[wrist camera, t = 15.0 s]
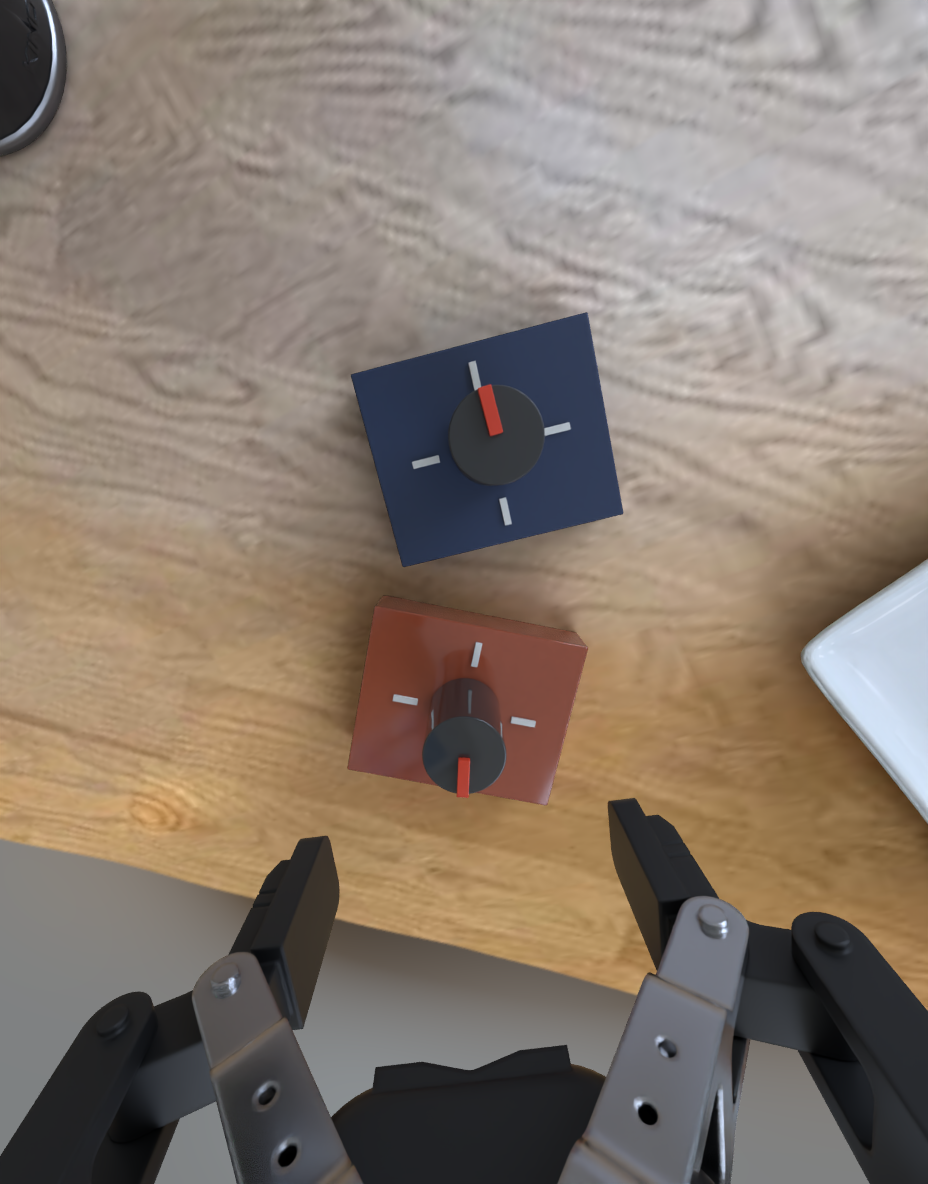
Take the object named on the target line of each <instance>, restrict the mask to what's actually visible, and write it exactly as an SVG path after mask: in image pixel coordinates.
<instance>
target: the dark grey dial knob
mask: <svg viewBox="0 0 928 1184" xmlns="http://www.w3.org/2000/svg"><path fill="white" fill-rule="evenodd" d="M506 758H507V752H506V745H505V739H504V732H503V726H502V719H501V713H500V706H499V702H498V699H497V697H496V695H495V694H494V692H493V691H492V690H491V689H490V688H489V687H488V686H487V685H486V684H484V683H482V682H480V681H478V680H475V679H471V678H458V679H454V680H451V681H449V682H447V683H445V684H443V685H442V686H441V687H440V688H439V689H438V690H437V691H436V692H435V693H434V695H433V697H432V699H431V702H430V706H429V712H428V718H427V724H426V730H425V736H424V742H423V748H422V761H423V765H424V768H425V770H426V772H427V774H428V775H429V777H430V778H431V779H432V780H433V782H435V783H436V784H437V785H438V786H440V787H441V788H443V789H445V790H447V791H450V792H453V793H457V797H465V798H468V797H469V794H470V793H476V792H479V791H482V790H484V789H486V788H488V787H489V786H491V785H492V784H493V783H494V782H495V781H496V780H497V779H498V778H499V777H500V775H501V773H502V772H503V770H504V767H505V764H506Z"/></svg>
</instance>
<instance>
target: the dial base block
mask: <svg viewBox="0 0 928 1184" xmlns="http://www.w3.org/2000/svg"><path fill="white" fill-rule="evenodd" d="M587 650H588V647H587V646H586V644H585V643H584V642H583V641H582V639H581V638H580V637H579V635H578V634H577V633H576V632H570V631H565V630H560V629H555V628H550V627H545V626H540V625H534V624H529V623H524V622H519V621H514V620H509V619H504V618H499V617H493V616H488V615H483V614H478V613H473V612H468V611H463V610H458V609H452V608H447V607H442V606H437V605H432V604H427V603H422V602H417V601H411V600H406V599H401V598H396V597H391V596H386V595H383V597H382V598H381V599H380V600H379V602H378V603H377V604H376V606H375V607H374V613H373V619H372V625H371V631H370V637H369V643H368V649H367V654H366V660H365V666H364V672H363V678H362V684H361V690H360V696H359V702H358V708H357V714H356V720H355V726H354V732H353V738H352V743H351V749H350V755H349V761H348V767H347V768H348V769H349V770H354V771H360V772H365V773H371V774H376V775H382V776H387V777H393V778H398V779H404V780H409V781H415V782H420V783H426V784H431V785H437V784H436V783H435V782H433V780H432V779H431V778H430V777H429V775H428V774H427V772H426V770H425V768H424V765H423V761H422V748H423V742H424V736H425V730H426V724H427V718H428V712H429V706H430V702H431V699H432V697H433V695H434V693H435V692H436V691H437V690H438V689H439V688H440V687H441V686H442V685H443V684H445V683H447V682H449V681H451V680H454V679H458V678H471V679H475V680H478V681H480V682H482V683H484V684H486V685H487V686H488V687H489V688H490V689H491V690H492V691H493V692H494V694H495V695H496V697H497V699H498V702H499V706H500V713H501V719H502V726H503V732H504V739H505V745H506V752H507V758H506V764H505V767H504V770H503V772H502V773H501V775H500V777H499V778H498V779H497V780H496V781H495V782H494V783H493V784H492V785H491V786H489V787H488V788H486V789H484V790H482V791H479V792H476V793H481V794H486V795H492V796H497V797H503V798H508V799H514V800H519V801H525V802H530V803H536V804H541V805H547V804H548V800H549V796H550V793H551V789H552V785H553V781H554V777H555V773H556V769H557V766H558V762H559V758H560V754H561V750H562V746H563V743H564V739H565V735H566V731H567V727H568V723H569V720H570V716H571V712H572V708H573V704H574V700H575V697H576V693H577V689H578V685H579V681H580V677H581V673H582V670H583V666H584V662H585V658H586V654H587ZM437 786H438V785H437Z"/></svg>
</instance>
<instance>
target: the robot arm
mask: <svg viewBox="0 0 928 1184" xmlns="http://www.w3.org/2000/svg"><path fill="white" fill-rule="evenodd" d="M65 80H66V47H65V41H64V35H63V31H62V27H61V24H60V20H59V17H58V14H57V12H56V9H55V7H54V5H53V2H52V0H0V156H2V155H6V154H10V153H13V152H15V151H18V150H20V149H22V148H24V147H25V146H27V145H29V144H30V143H31V142H33V141H34V140H35V139H36V138H37V137H39V136H40V135H41V134H42V132H43V131H44V130H45V129H46V128H47V126H48V125H49V124H50V122H51V121H52V119H53V117H54V115H55V113H56V111H57V109H58V107H59V104H60V102H61V98H62V95H63V91H64V86H65ZM608 816H609V828H610V840H611V850H612V856H613V861H614V865H615V869H616V872H617V874H618V877H619V879H620V882H621V884H622V887H623V889H624V892H625V894H626V896H627V899H628V901H629V904H630V906H631V909H632V911H633V914H634V916H635V919H636V921H637V923H638V926H639V928H640V931H641V933H642V936H643V938H644V941H645V943H646V945H647V948H648V950H649V953H650V955H651V958H652V960H653V963H654V965H655V967H656V970H657V973H656V975H654V974H652V973H650V972H649V973H647V975H646V976H645V978H644V980H643V982H642V985H641V987H640V990H639V993H638V995H637V998H636V1001H635V1003H634V1006H633V1008H632V1011H631V1014H630V1016H629V1019H628V1021H627V1024H626V1027H625V1030H624V1032H623V1035H622V1037H621V1040H620V1042H619V1045H618V1048H617V1050H616V1053H615V1056H614V1058H613V1061H612V1064H611V1066H610V1069H609V1071H608V1074H607V1076H606V1077H605V1076H603V1075H602V1074H599V1073H597V1072H595V1071H593V1070H591V1069H588V1068H585V1067H582V1066H579V1065H574V1064H571V1063H570V1058H569V1053H568V1048H567V1045H562V1046H553V1047H545V1048H537V1049H528V1050H520V1051H517V1052H515V1053H513V1054H510V1055H508V1056H505V1057H503V1058H501V1059H498V1060H496V1061H494V1062H491V1063H489V1064H487V1065H484V1066H482V1067H480V1068H477V1069H474V1070H463V1069H458V1068H452V1067H447V1066H441V1065H437V1064H431V1063H426V1062H416V1063H409V1064H400V1065H391V1066H382V1067H376V1069H375V1075H374V1083H373V1088H371V1089H369V1090H367V1091H365V1092H363V1093H361V1094H360V1095H358V1096H356V1097H355V1098H353V1099H352V1100H351V1101H349V1102H348V1103H346V1104H345V1105H344V1106H343V1107H342V1108H340V1110H338V1111H337V1112H336V1113H335V1114H334V1115H333V1116H332V1117H330V1114H329V1112H328V1110H327V1108H326V1105H325V1103H324V1101H323V1099H322V1096H321V1094H320V1092H319V1089H318V1087H317V1085H316V1083H315V1080H314V1078H313V1076H312V1074H311V1072H310V1069H309V1067H308V1065H307V1062H306V1060H305V1058H304V1056H303V1054H302V1051H301V1049H300V1047H299V1044H298V1042H297V1040H296V1037H295V1035H294V1033H293V1031H292V1030H297V1029H303V1027H304V1023H305V1020H306V1017H307V1013H308V1010H309V1006H310V1003H311V999H312V995H313V992H314V989H315V985H316V982H317V978H318V974H319V971H320V968H321V964H322V961H323V957H324V953H325V950H326V947H327V943H328V940H329V936H330V933H331V929H332V926H333V922H334V919H335V915H336V912H337V908H338V904H339V880H338V876H337V871H336V866H335V862H334V857H333V852H332V848H331V843H330V840H329V838H328V836H320V837H312V838H304V839H300V840H299V842H298V844H297V846H296V848H295V850H294V852H293V855H292V857H291V859H290V860H283V861H281V862H280V863H279V864H278V865H277V866H276V867H275V868H274V869H273V870H272V871H271V872H270V873H269V874H268V875H267V877H266V879H265V881H264V883H263V885H262V887H261V889H260V891H259V895H257V897H256V899H255V901H254V904H253V908H251V910H250V912H249V914H248V916H247V918H246V920H245V922H244V924H243V926H242V928H241V930H240V932H239V934H238V936H237V938H236V940H235V942H234V945H233V947H232V949H231V951H230V953H229V955H228V956H225V957H223V958H221V959H219V960H218V961H217V962H215V963H214V964H212V965H211V966H210V967H209V968H208V969H207V970H206V971H205V972H204V973H203V974H202V975H201V976H200V978H199V979H198V981H197V982H196V984H195V986H194V989H193V990H192V991H190V992H188V993H186V994H184V995H181V996H179V997H176V998H174V999H171V1000H169V1001H166V1002H164V1003H162V1004H159V1005H157V1006H153V1003H152V1000H151V998H150V996H149V995H148V994H146V993H144V992H132V993H128V994H125V995H122V996H120V997H118V998H116V999H114V1000H112V1001H111V1002H109V1003H108V1004H106V1005H105V1006H103V1007H102V1008H101V1009H100V1010H98V1011H97V1012H96V1013H95V1014H94V1015H93V1016H92V1017H91V1018H90V1019H89V1020H88V1022H87V1023H86V1024H85V1025H84V1026H83V1028H82V1029H81V1031H80V1032H79V1034H78V1036H77V1037H76V1039H75V1040H74V1042H73V1043H72V1045H71V1046H70V1048H69V1050H68V1051H67V1053H66V1054H65V1056H64V1057H63V1059H62V1060H61V1062H60V1064H59V1065H58V1067H57V1068H56V1070H55V1072H54V1073H53V1075H52V1076H51V1078H50V1079H49V1081H48V1082H47V1084H46V1086H45V1087H44V1089H43V1090H42V1092H41V1093H40V1095H39V1097H38V1098H37V1100H36V1101H35V1103H34V1105H33V1106H32V1107H31V1109H30V1110H29V1112H28V1114H27V1115H26V1117H25V1118H24V1120H23V1121H22V1123H21V1124H20V1126H19V1128H18V1129H17V1131H16V1133H15V1134H14V1135H13V1137H12V1139H11V1140H10V1142H9V1143H8V1145H7V1146H6V1148H5V1149H4V1151H3V1153H2V1154H1V1156H0V1184H154V1183H155V1180H156V1177H157V1175H158V1173H159V1170H160V1167H161V1164H162V1162H163V1160H164V1157H165V1155H166V1152H167V1150H168V1147H169V1144H170V1142H171V1139H172V1137H173V1134H174V1132H175V1129H176V1127H177V1124H178V1122H179V1119H180V1118H181V1117H184V1116H186V1115H188V1114H190V1113H192V1112H194V1111H196V1110H199V1109H201V1108H203V1107H205V1106H207V1105H209V1104H211V1103H213V1102H215V1101H216V1102H217V1106H218V1110H219V1114H220V1118H221V1122H222V1126H223V1130H224V1134H225V1138H226V1142H227V1146H228V1150H229V1154H230V1157H231V1162H232V1166H233V1170H234V1174H235V1178H236V1182H237V1184H731V1177H732V1167H733V1158H734V1142H735V1130H736V1122H737V1116H738V1110H739V1104H740V1098H741V1092H742V1086H743V1080H744V1074H745V1068H746V1062H747V1057H748V1051H749V1045H750V1039H752V1040H756V1041H760V1042H765V1043H769V1044H773V1045H778V1046H782V1047H787V1048H791V1049H796V1050H798V1052H799V1054H800V1056H801V1057H802V1059H803V1061H804V1063H805V1065H806V1067H807V1069H808V1070H809V1072H810V1074H811V1076H812V1078H813V1080H814V1081H815V1083H816V1085H817V1087H818V1089H819V1091H820V1093H821V1094H822V1096H823V1098H824V1100H825V1102H826V1104H827V1106H828V1107H829V1109H830V1111H831V1113H832V1115H833V1117H834V1118H835V1120H836V1122H837V1124H838V1126H839V1128H840V1130H841V1131H842V1133H843V1135H844V1137H845V1139H846V1141H847V1143H848V1144H849V1146H850V1148H851V1150H852V1152H853V1154H854V1155H855V1157H856V1159H857V1161H858V1163H859V1165H860V1166H861V1168H862V1170H863V1172H864V1174H865V1176H866V1178H867V1180H868V1181H869V1183H870V1184H928V1011H927V1010H926V1008H925V1007H924V1006H923V1005H922V1004H921V1002H920V1001H919V1000H918V999H917V998H916V996H915V995H914V994H913V993H912V992H911V990H910V989H909V988H908V987H907V985H906V984H905V983H904V982H903V981H902V979H901V978H900V977H899V976H898V975H897V973H896V972H895V971H894V970H893V968H892V967H891V966H890V965H889V964H888V962H887V961H886V960H885V959H884V958H883V956H882V955H881V954H880V953H879V952H878V950H877V949H876V948H875V947H874V945H873V944H872V943H871V942H870V941H869V939H868V938H867V937H866V936H865V935H864V934H863V933H862V932H861V931H860V930H859V929H857V928H856V927H855V926H853V925H852V924H850V923H849V922H847V921H845V920H843V919H841V918H839V917H836V916H833V915H830V914H826V913H821V912H807V913H803V914H800V915H799V916H797V917H796V918H795V919H794V921H793V923H792V927H791V930H789V929H783V928H776V927H770V926H764V925H759V924H756V923H752V922H750V921H747V920H746V919H745V918H744V916H743V915H742V914H741V913H740V912H739V911H738V910H737V909H736V908H735V907H734V906H732V905H731V904H729V903H727V902H725V901H723V900H721V899H719V897H718V896H717V894H716V893H715V891H714V889H713V888H712V886H711V885H710V883H709V881H708V880H707V878H706V877H705V875H704V874H703V872H702V870H701V869H700V867H699V866H698V864H697V862H696V861H695V859H694V858H693V856H692V855H691V854H690V851H689V850H688V848H687V847H686V845H685V843H683V840H682V839H681V837H680V835H679V834H678V832H677V831H676V829H675V828H674V826H673V825H671V824H670V823H669V822H667V821H666V820H665V819H663V818H662V817H661V816H659V815H652V816H645V814H644V812H643V811H642V809H641V807H640V805H639V803H638V802H637V800H636V799H635V798H630V799H622V800H614V801H609V802H608Z"/></svg>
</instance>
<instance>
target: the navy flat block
mask: <svg viewBox="0 0 928 1184" xmlns="http://www.w3.org/2000/svg"><path fill="white" fill-rule="evenodd" d="M351 378H352V382H353V385H354V389H355V393H356V396H357V400H358V404H359V407H360V411H361V415H362V418H363V422H364V426H365V430H366V433H367V437H368V441H369V444H370V448H371V452H372V455H373V459H374V463H375V466H376V470H377V474H378V478H379V481H380V485H381V489H382V492H383V496H384V500H385V503H386V507H387V511H388V515H389V518H390V522H391V526H392V529H393V533H394V537H395V540H396V544H397V548H398V551H399V555H400V559H401V563H402V566H403V567H406V566H411V565H415V564H419V563H423V562H427V561H431V560H435V559H439V558H444V557H448V556H452V555H456V554H460V553H464V552H468V551H473V550H477V549H481V548H485V547H489V546H493V545H497V544H501V543H506V542H510V541H514V540H518V539H522V538H526V537H530V536H534V535H539V534H543V533H547V532H551V531H555V530H559V529H563V528H567V527H572V526H576V525H580V524H584V523H588V522H592V521H596V520H601V519H605V518H609V517H613V516H617V515H621V514H623V508H622V503H621V497H620V492H619V486H618V480H617V475H616V469H615V464H614V458H613V452H612V447H611V441H610V436H609V430H608V424H607V419H606V413H605V408H604V402H603V396H602V391H601V385H600V380H599V374H598V369H597V363H596V357H595V352H594V346H593V341H592V335H591V329H590V324H589V318H588V313H582V314H578V315H575V316H571V317H567V318H563V319H559V320H556V321H552V322H548V323H544V324H540V325H537V326H533V327H529V328H525V329H521V330H518V331H514V332H510V333H506V334H503V335H499V336H495V337H491V338H487V339H484V340H480V341H476V342H472V343H468V344H465V345H461V346H457V347H453V348H449V349H446V350H442V351H438V352H434V353H430V354H427V355H423V356H419V357H415V358H412V359H408V360H404V361H400V362H396V363H393V364H389V365H385V366H381V367H377V368H374V369H370V370H366V371H362V372H358V373H355V374H352V375H351ZM490 384H491V385H505V386H509V387H512V388H515V389H517V390H519V391H521V392H523V393H524V394H525V395H527V396H528V397H529V398H530V399H531V400H532V401H533V402H534V404H535V405H536V407H537V408H538V410H539V412H540V414H541V416H542V420H543V423H544V430H545V439H544V445H543V449H542V452H541V455H540V457H539V459H538V461H537V463H536V464H535V466H534V467H533V468H532V469H531V470H530V471H529V472H528V473H527V474H526V475H525V476H523V477H522V478H520V479H518V480H516V481H515V482H512V483H509V484H505V485H496V486H485V485H480V484H477V483H475V482H473V481H471V480H469V479H468V478H467V477H465V476H464V475H463V474H462V473H461V471H460V470H459V469H458V467H457V465H456V463H455V461H454V459H453V457H452V454H451V451H450V447H449V441H448V430H449V424H450V421H451V417H452V415H453V413H454V411H455V409H456V408H457V406H458V405H459V403H460V402H461V401H462V400H463V399H464V398H465V397H466V396H467V395H469V394H470V393H471V392H473V391H475V390H477V389H478V388H480V387H483V386H486V385H490Z"/></svg>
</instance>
